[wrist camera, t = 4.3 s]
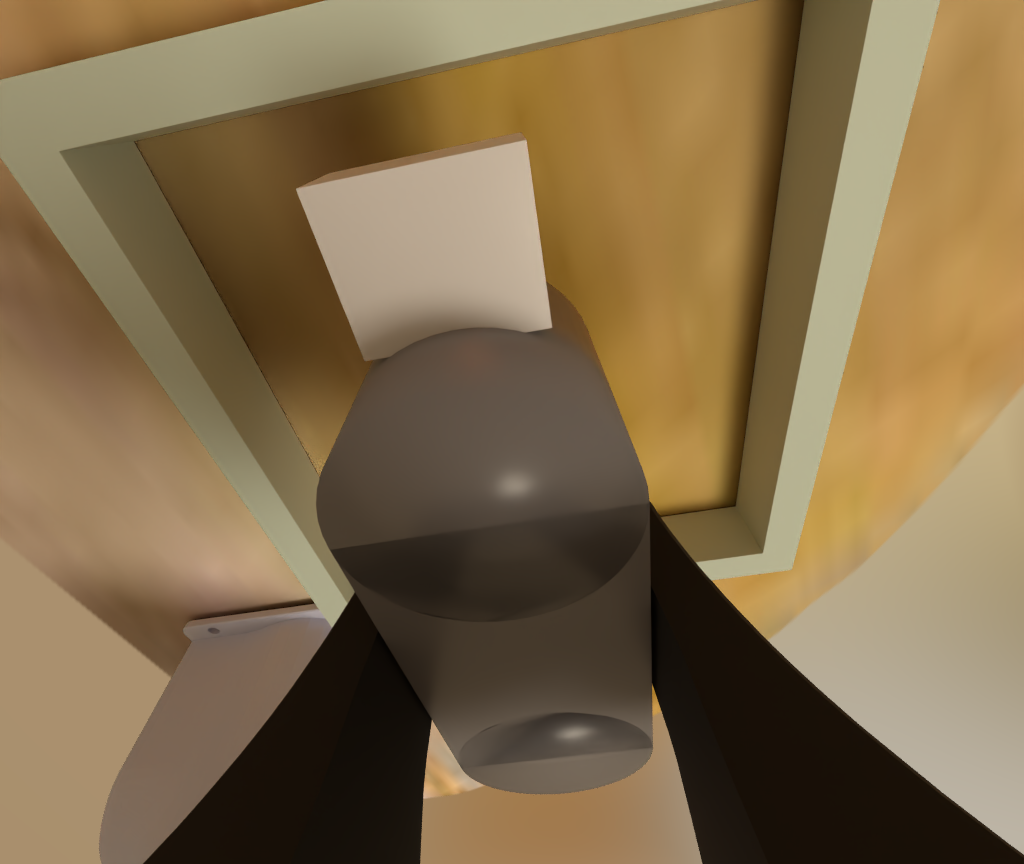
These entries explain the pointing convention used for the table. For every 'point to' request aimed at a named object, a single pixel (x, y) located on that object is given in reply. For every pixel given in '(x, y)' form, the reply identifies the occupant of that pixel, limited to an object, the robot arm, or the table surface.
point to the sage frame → (418, 52)
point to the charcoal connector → (486, 473)
